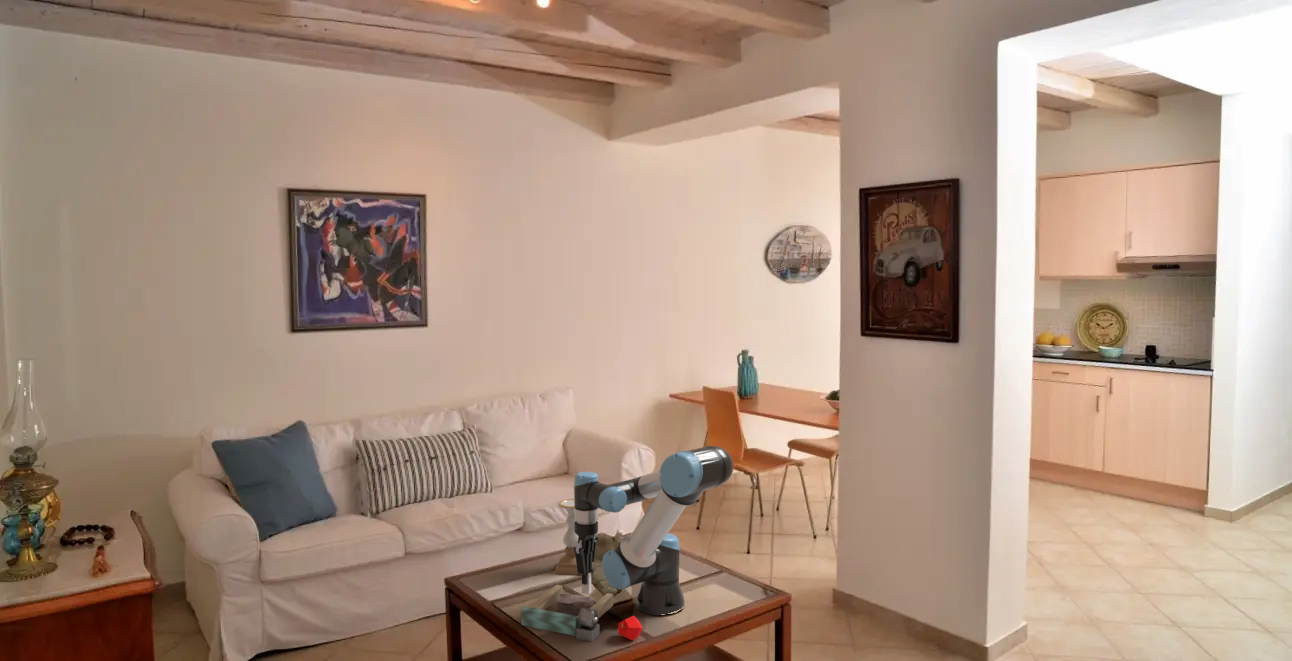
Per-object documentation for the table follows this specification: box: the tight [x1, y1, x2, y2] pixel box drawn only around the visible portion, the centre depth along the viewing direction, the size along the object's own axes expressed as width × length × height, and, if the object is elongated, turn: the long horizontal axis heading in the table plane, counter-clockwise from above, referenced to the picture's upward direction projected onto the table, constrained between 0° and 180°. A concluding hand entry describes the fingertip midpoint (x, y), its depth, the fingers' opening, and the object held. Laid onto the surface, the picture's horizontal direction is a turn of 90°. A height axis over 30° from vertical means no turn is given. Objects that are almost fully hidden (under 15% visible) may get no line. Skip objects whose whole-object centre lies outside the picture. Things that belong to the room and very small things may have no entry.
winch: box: [575, 608, 601, 642], centre depth 239 cm, size 6×5×8 cm
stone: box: [555, 593, 596, 616], centre depth 257 cm, size 9×12×5 cm
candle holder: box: [554, 498, 582, 576], centre depth 292 cm, size 11×11×24 cm
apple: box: [617, 615, 644, 641], centre depth 238 cm, size 7×7×8 cm
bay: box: [520, 584, 614, 637], centre depth 254 cm, size 20×24×5 cm
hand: (586, 592), depth 266 cm, fingers closed
